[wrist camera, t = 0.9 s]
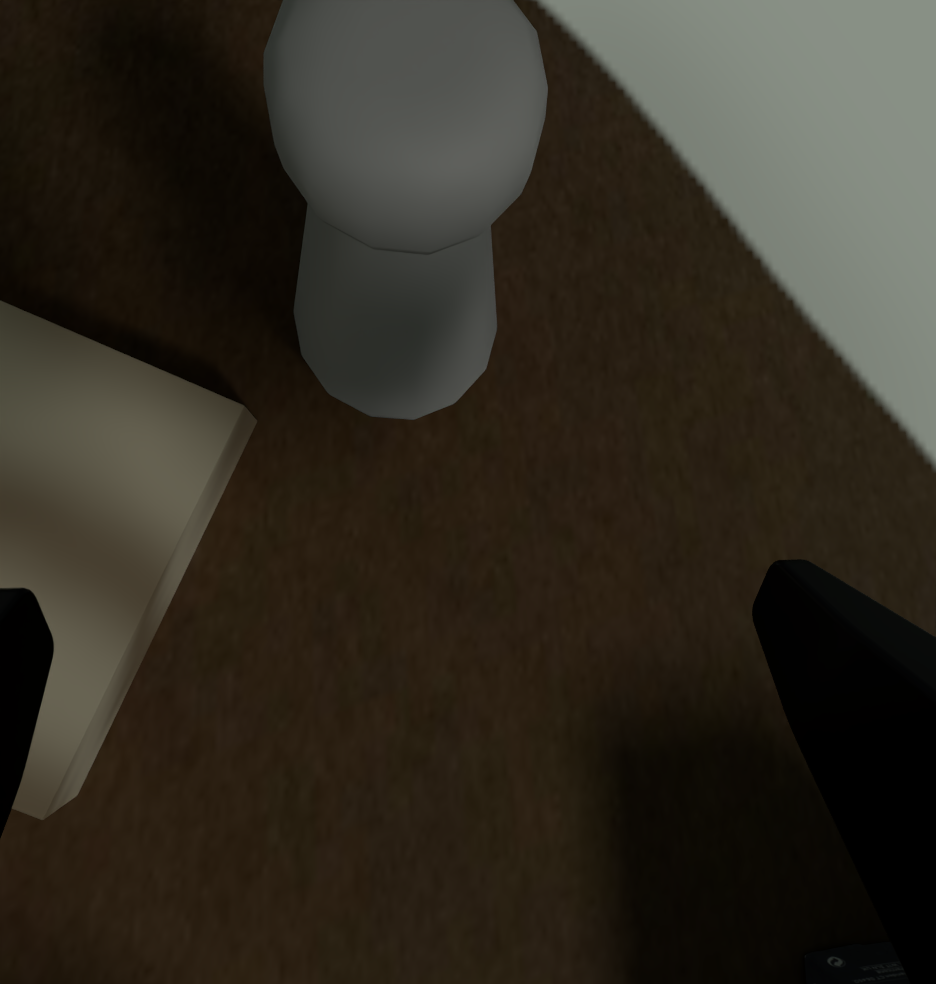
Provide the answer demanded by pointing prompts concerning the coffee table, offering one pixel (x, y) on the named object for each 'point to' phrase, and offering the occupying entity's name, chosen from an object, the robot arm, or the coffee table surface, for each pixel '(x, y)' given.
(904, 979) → the small box
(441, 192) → the salt shaker
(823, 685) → the robot arm
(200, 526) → the oak block
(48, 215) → the coffee table surface
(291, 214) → the coffee table surface
